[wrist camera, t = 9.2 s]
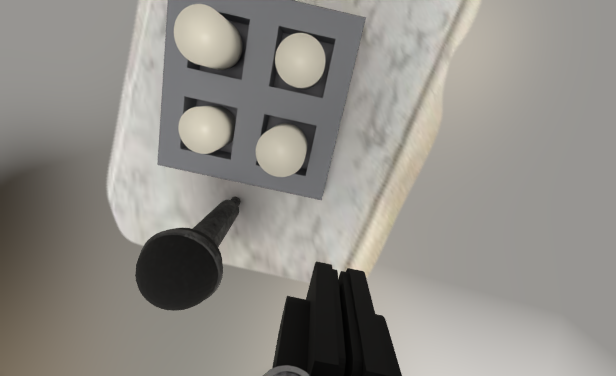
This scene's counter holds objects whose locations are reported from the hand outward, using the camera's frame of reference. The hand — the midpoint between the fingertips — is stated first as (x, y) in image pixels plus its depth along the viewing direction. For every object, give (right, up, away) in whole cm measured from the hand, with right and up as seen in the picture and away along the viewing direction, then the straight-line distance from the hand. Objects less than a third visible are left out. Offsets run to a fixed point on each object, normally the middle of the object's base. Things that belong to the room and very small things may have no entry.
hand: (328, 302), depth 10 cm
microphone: (-11, +2, +30) cm, 32 cm away
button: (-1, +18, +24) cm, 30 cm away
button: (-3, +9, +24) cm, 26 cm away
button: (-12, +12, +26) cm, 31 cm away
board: (-7, +15, +26) cm, 31 cm away
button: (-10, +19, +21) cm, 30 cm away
